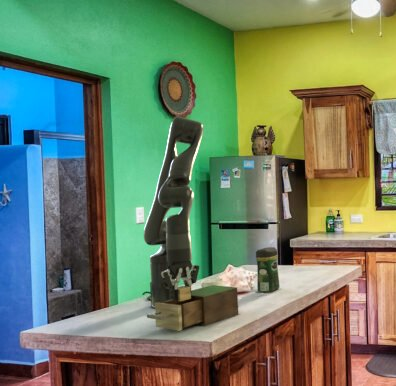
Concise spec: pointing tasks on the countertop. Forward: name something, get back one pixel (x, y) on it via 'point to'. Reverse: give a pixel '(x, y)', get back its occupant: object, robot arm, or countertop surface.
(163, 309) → the drawer
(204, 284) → the white cup
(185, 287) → the block
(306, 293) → the countertop surface
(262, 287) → the coffee jar
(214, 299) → the cabinet
